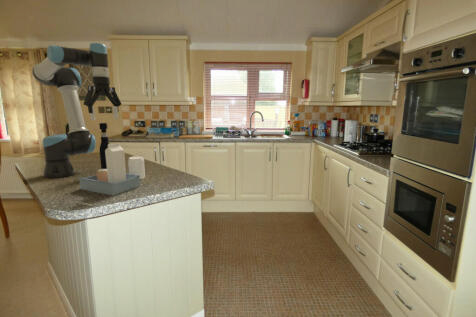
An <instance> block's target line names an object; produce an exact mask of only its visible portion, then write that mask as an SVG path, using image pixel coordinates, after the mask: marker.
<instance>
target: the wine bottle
mask: <svg viewBox="0 0 476 317" xmlns="http://www.w3.org/2000/svg"><path fill="white" fill-rule="evenodd" d="M98 127H99V130H100V133H101V134H100V145H99V158H100V169H107V165H106V155H105V150H106V149H107V148H108V144H110V140H109V136H108V133H107V130H108V122H101V123H99V126H98Z"/></svg>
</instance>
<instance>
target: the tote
mask: <svg viewBox="0 0 476 317" xmlns="http://www.w3.org/2000/svg"><path fill="white" fill-rule="evenodd" d="M139 177H140V175H135V174H129V172H128V173H127V172H126V179H127V180H124V181H121V182H118V183H110V182H104V181H98V180H97V175H96V174H94V175H90V176H86V177H78V180H79V187H80V188H79V190H82V191H88V192H93V193H98V194H102V195H108V196H113V197H114V196H116V195H119V194H122V193H125V192H127V191H131V190H133V189H136V188H138V187H141V182H140V180H141V179H140V178H139Z"/></svg>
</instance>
